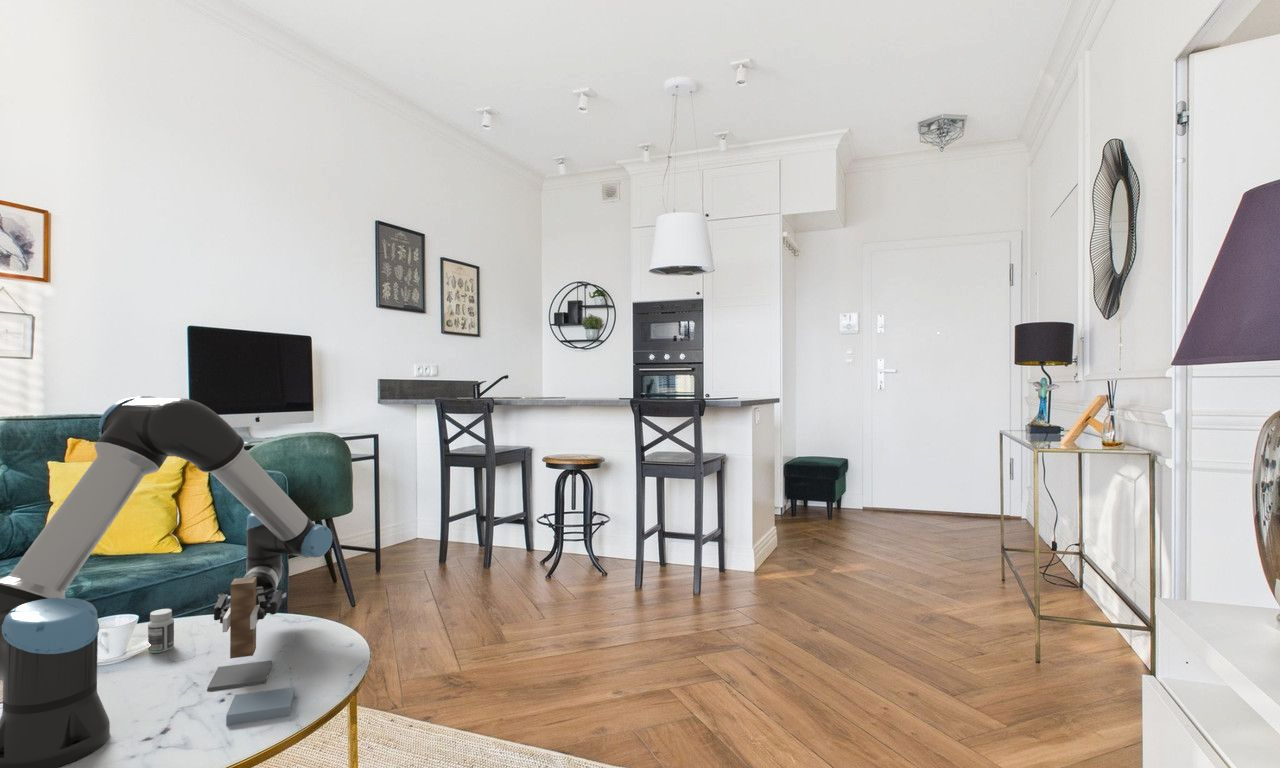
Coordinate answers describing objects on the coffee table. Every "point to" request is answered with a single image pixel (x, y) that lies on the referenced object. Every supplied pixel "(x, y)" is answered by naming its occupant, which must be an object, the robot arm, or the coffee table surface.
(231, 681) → the plate
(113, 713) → the coffee table surface
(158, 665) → the coffee table surface
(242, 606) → the tall wooden pillar
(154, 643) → the pill bottle
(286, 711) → the tile
